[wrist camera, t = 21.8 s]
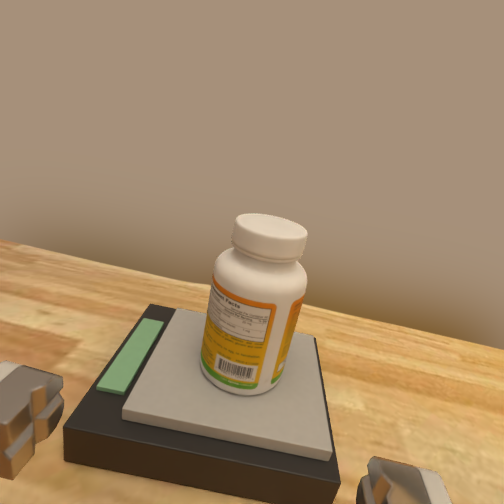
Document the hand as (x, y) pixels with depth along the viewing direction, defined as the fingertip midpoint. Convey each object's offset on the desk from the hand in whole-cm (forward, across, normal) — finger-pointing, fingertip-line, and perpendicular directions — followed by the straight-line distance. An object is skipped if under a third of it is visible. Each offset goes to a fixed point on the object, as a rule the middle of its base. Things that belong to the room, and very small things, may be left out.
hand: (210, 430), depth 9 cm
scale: (+11, +1, +10) cm, 15 cm away
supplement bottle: (+11, 0, +7) cm, 13 cm away
